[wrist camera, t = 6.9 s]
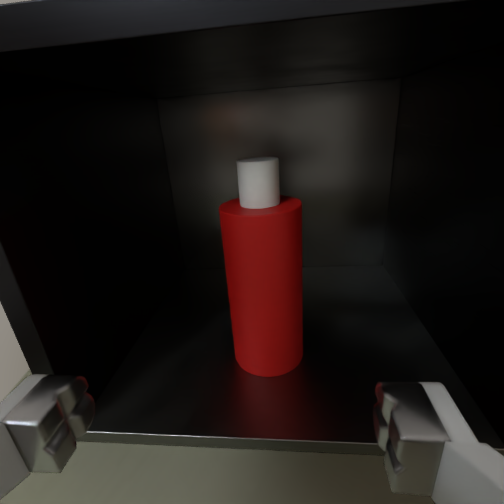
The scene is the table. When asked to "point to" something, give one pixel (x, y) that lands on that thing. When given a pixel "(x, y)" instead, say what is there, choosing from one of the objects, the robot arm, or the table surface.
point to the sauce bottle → (264, 270)
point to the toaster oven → (226, 188)
